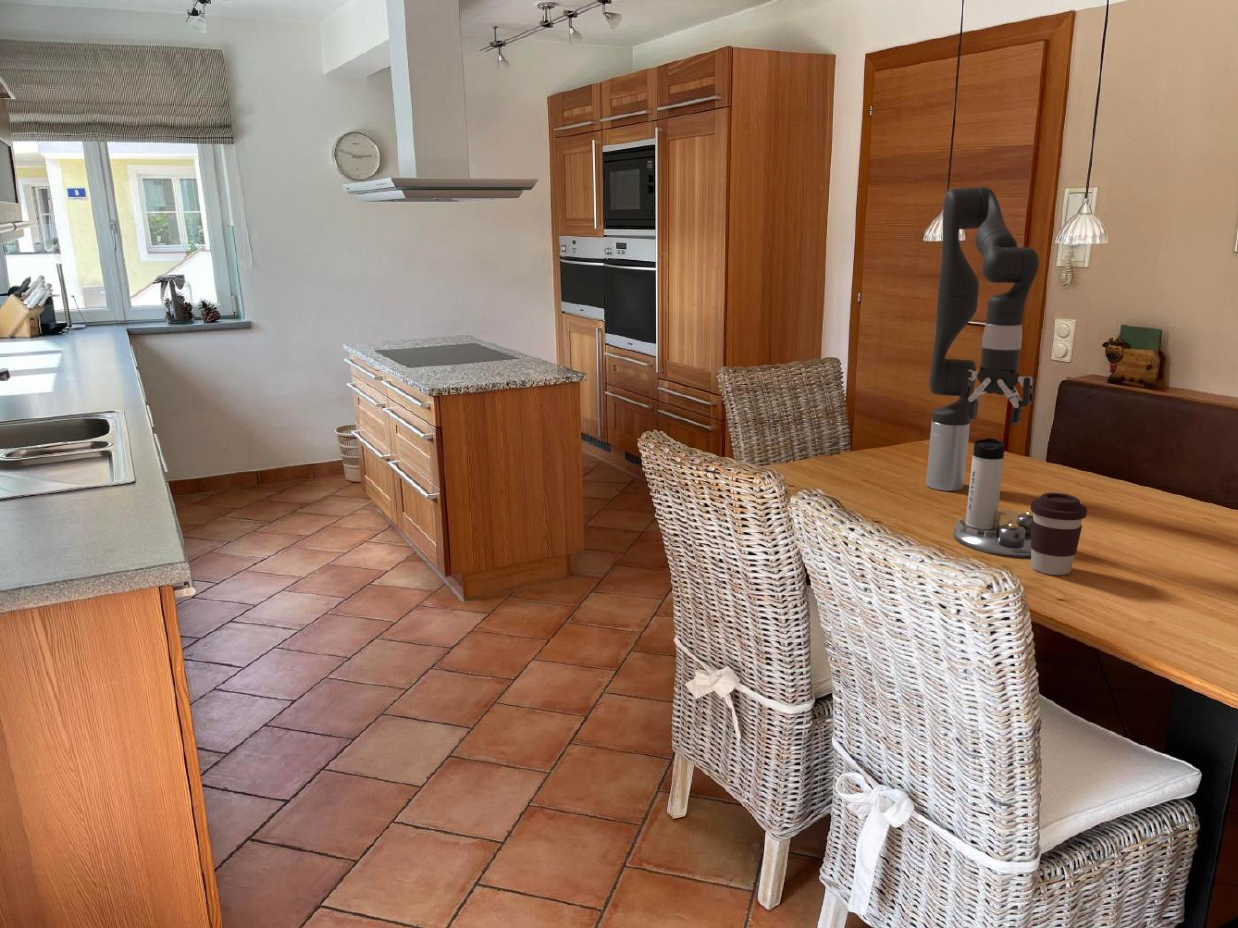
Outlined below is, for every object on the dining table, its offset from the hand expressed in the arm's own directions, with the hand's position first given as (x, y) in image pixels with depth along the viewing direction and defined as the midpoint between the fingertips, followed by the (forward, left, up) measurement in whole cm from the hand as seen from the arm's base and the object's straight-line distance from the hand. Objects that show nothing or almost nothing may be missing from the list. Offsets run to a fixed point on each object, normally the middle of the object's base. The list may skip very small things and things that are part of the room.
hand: (993, 421), depth 192 cm
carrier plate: (0, +5, -26) cm, 26 cm away
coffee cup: (+11, +18, -26) cm, 33 cm away
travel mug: (0, 0, -25) cm, 25 cm away
